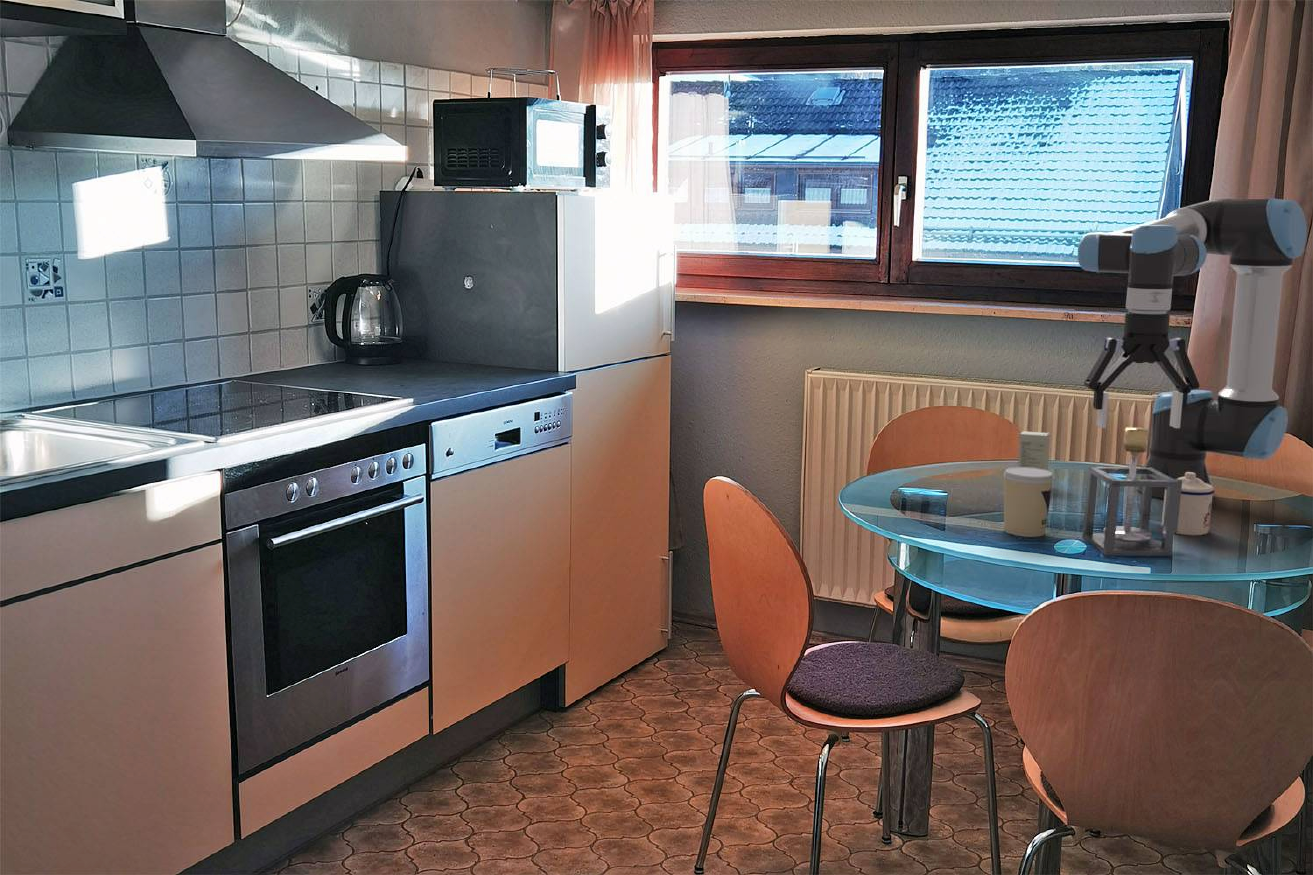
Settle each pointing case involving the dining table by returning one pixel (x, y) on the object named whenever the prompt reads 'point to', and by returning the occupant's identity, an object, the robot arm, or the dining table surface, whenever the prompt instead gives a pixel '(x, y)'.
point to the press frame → (1171, 515)
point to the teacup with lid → (1193, 506)
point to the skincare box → (1033, 450)
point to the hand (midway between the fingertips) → (1137, 427)
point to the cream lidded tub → (1026, 500)
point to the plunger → (1133, 443)
